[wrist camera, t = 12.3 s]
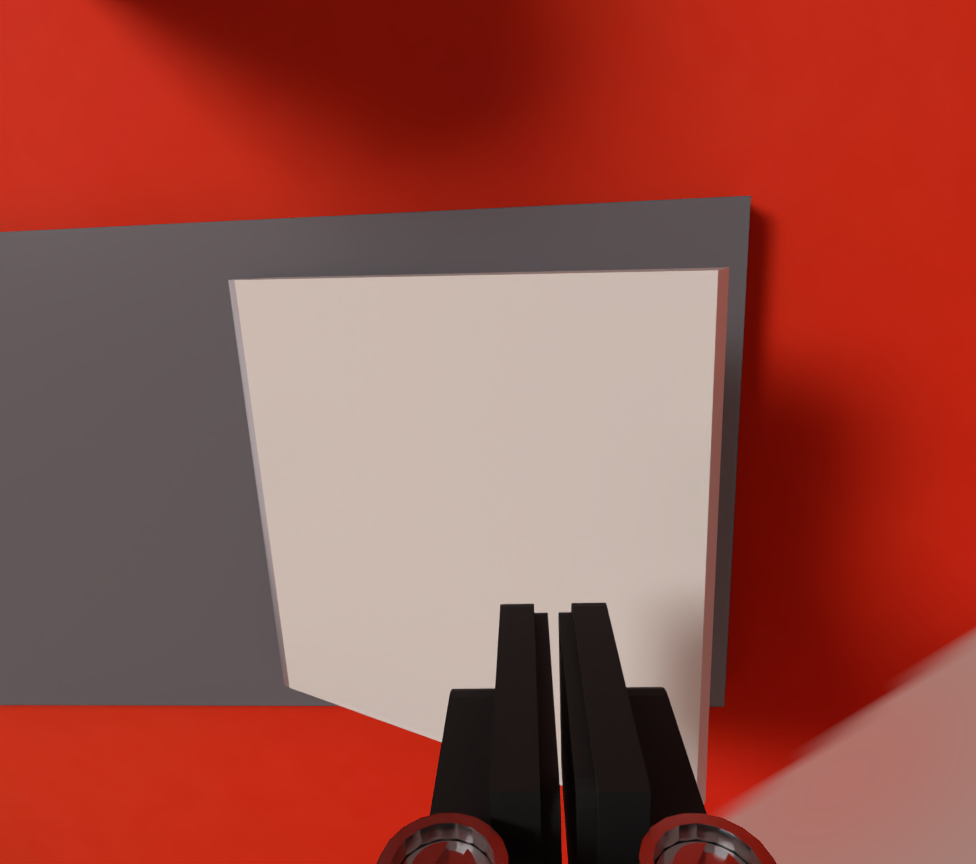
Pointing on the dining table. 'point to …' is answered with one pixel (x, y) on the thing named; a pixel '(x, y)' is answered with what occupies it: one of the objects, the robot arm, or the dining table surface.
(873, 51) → the dining table surface
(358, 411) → the tile
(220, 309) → the base
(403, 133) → the dining table surface
